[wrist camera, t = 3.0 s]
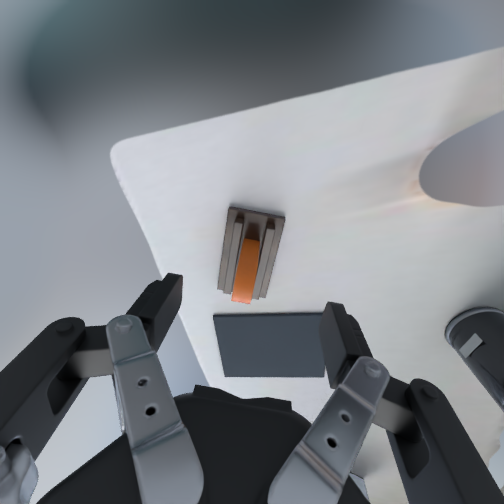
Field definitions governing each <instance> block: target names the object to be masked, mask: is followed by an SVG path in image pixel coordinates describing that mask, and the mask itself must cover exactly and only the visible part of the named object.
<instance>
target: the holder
mask: <svg viewBox="0 0 504 504" xmlns="http://www.w3.org/2000/svg"><path fill="white" fill-rule="evenodd" d="M284 223H285V217H282V216H277V215H272V214H266V213H261V212H256V211H251V210H246V209H241V208H236V207H229V210H228V217H227V224H226V231H225V238H224V245H223V252H222V259H221V267H220V274H219V281H218V288H217V289H219V290H224V292H223V293H226V294H231V292H233V287H234V282H235V277H236V272H237V267H238V262H239V257H240V253H241V249H242V244H243V240H244V238H245V239H250V240H256V241H260V247H259V258H258V267H257V274H256V279H255V285H254V290H253V294H252V298H253V299H259V297H262V298H265V297H266V293H267V289H268V285H269V281H270V277H271V273H272V270H273V266H274V262H275V258H276V254H277V250H278V246H279V242H280V238H281V234H282V230H283V227H284Z"/></svg>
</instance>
